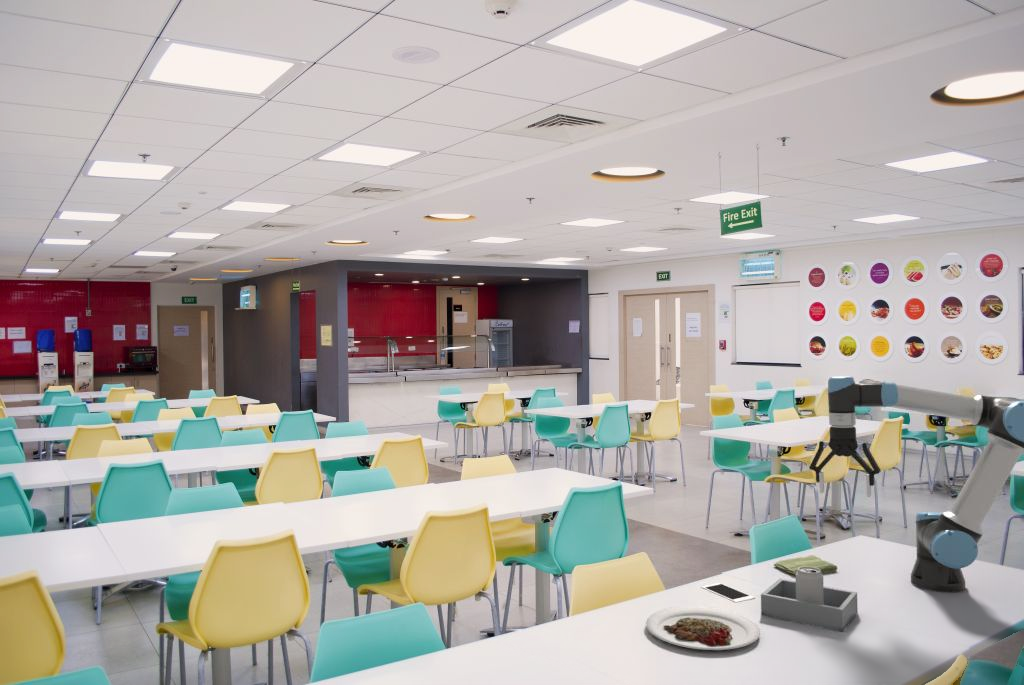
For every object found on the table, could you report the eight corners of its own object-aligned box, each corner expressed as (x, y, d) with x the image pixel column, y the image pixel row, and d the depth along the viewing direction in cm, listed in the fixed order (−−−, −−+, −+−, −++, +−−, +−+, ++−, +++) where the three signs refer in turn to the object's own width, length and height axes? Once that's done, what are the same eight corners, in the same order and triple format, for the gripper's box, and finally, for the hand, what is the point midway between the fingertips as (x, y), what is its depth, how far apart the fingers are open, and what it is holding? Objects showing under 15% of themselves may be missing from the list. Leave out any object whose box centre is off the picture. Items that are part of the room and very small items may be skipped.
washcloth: (771, 567, 259) (771, 558, 259) (814, 562, 264) (814, 553, 264) (796, 579, 247) (796, 569, 247) (840, 573, 252) (840, 564, 252)
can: (826, 616, 210) (825, 573, 210) (798, 614, 212) (797, 572, 212) (821, 606, 218) (820, 565, 218) (793, 605, 219) (793, 564, 219)
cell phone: (736, 604, 225) (736, 602, 225) (700, 588, 240) (700, 586, 240) (755, 599, 228) (755, 597, 228) (719, 584, 243) (719, 582, 243)
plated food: (684, 605, 224) (684, 593, 224) (780, 631, 203) (780, 619, 203) (624, 633, 203) (623, 621, 203) (723, 666, 182) (723, 653, 182)
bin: (857, 613, 215) (857, 592, 215) (842, 632, 201) (842, 610, 201) (780, 598, 228) (779, 578, 228) (761, 615, 215) (760, 594, 215)
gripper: (797, 426, 237) (800, 493, 237) (884, 428, 222) (887, 500, 222) (803, 423, 243) (806, 488, 243) (888, 425, 228) (891, 495, 228)
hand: (845, 494), depth 232 cm, fingers open, 13 cm apart
